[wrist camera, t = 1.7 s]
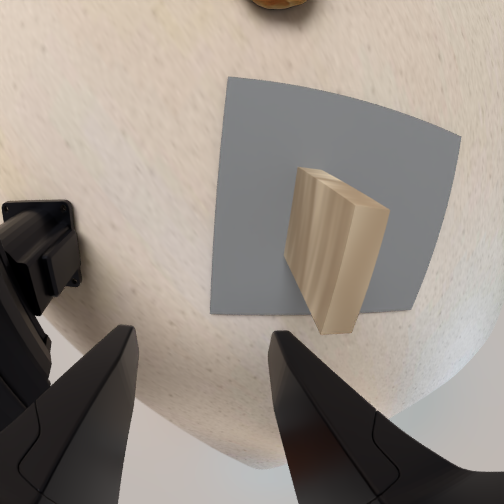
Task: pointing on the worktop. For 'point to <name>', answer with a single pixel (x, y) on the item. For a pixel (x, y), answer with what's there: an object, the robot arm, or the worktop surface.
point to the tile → (333, 247)
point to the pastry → (278, 3)
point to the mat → (336, 164)
